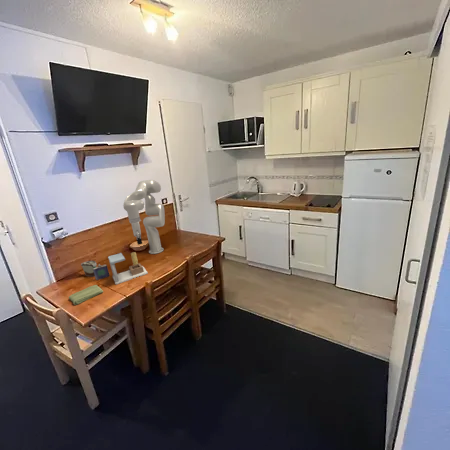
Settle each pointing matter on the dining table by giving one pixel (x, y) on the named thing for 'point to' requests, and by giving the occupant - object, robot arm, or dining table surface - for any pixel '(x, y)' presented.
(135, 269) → the socket station
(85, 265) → the food container
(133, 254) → the peg
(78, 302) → the washcloth
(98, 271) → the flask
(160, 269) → the dining table surface
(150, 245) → the robot arm
